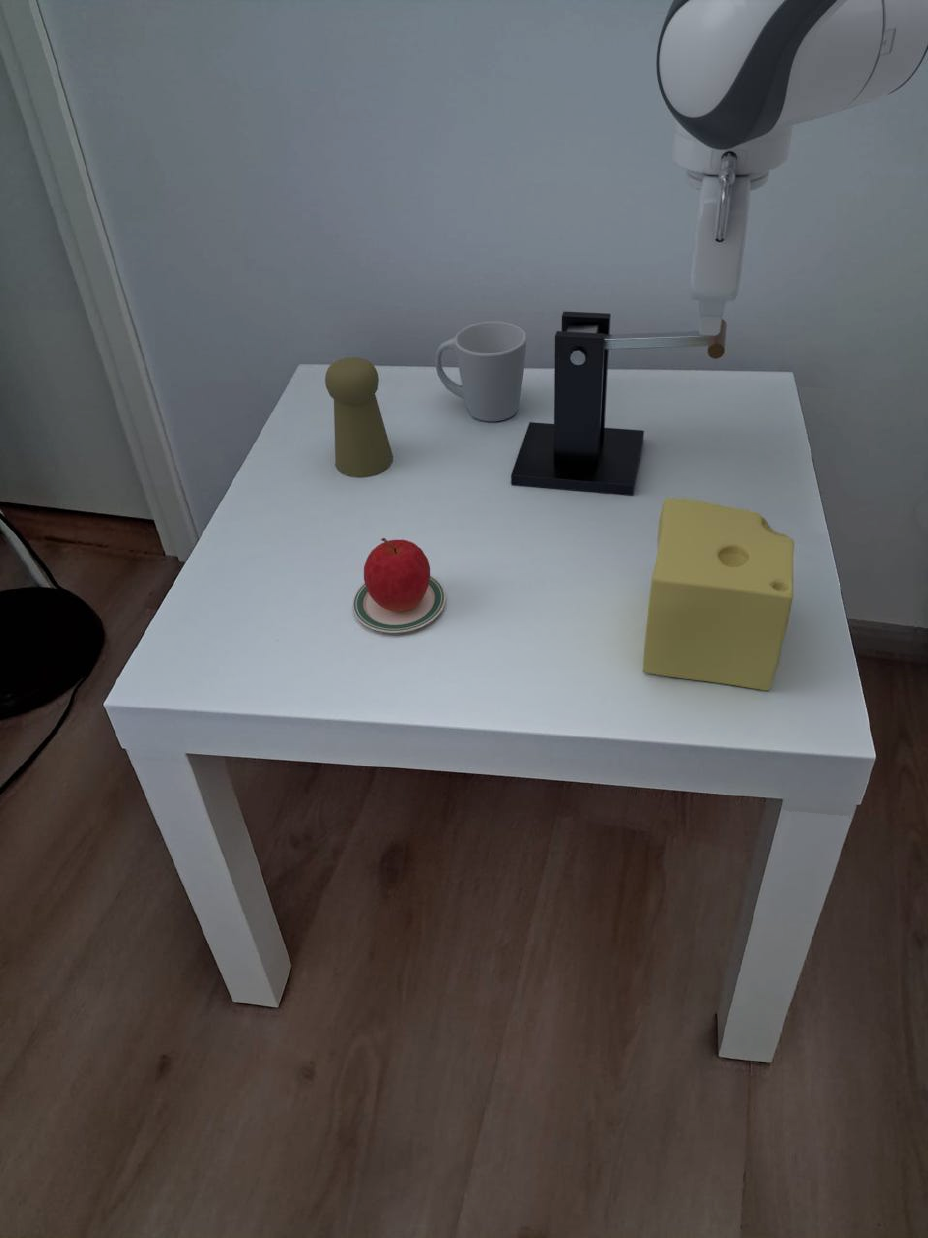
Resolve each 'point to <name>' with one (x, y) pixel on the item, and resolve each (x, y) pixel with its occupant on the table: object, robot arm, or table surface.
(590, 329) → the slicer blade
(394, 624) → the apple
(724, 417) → the table surface
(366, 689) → the table surface
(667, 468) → the table surface
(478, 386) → the cup
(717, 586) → the cheese
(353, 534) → the table surface
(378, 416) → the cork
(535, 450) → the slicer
